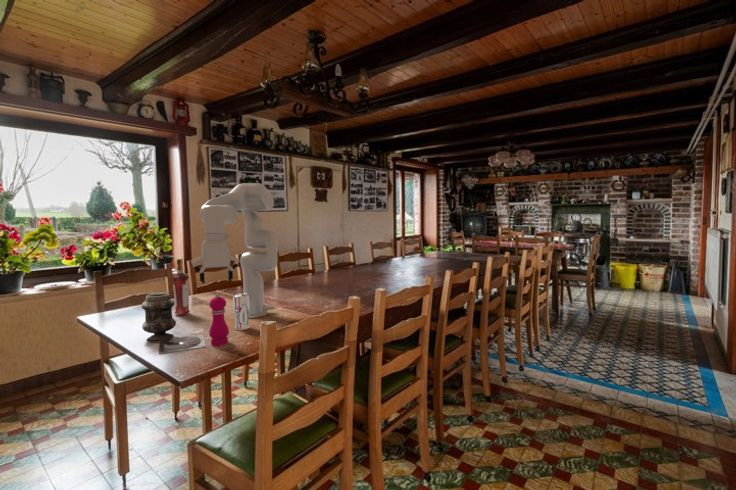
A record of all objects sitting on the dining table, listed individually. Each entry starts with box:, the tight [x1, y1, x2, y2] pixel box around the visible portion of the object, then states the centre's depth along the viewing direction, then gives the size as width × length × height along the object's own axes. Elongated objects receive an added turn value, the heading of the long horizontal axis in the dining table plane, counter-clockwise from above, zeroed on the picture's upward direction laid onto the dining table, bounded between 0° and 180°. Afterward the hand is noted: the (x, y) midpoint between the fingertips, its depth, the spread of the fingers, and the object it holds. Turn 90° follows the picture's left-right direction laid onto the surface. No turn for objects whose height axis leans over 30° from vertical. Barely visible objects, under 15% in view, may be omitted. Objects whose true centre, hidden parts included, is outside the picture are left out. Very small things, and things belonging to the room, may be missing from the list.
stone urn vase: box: [141, 292, 177, 343], centre depth 157 cm, size 12×12×18 cm
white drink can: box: [232, 292, 250, 331], centre depth 170 cm, size 7×7×15 cm
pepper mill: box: [208, 292, 230, 347], centre depth 151 cm, size 7×7×20 cm
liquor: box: [171, 258, 191, 317], centre depth 193 cm, size 7×7×28 cm
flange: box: [158, 334, 207, 355], centre depth 151 cm, size 16×16×1 cm
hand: (216, 282), depth 150 cm, fingers open, 9 cm apart
